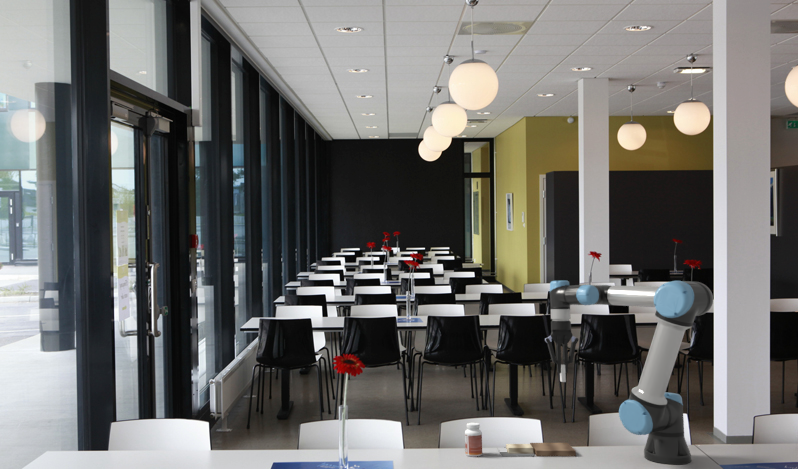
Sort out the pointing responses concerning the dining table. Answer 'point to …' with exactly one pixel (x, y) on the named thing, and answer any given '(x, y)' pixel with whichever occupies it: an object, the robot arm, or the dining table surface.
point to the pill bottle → (473, 440)
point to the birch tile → (519, 448)
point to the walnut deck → (553, 449)
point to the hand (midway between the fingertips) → (562, 381)
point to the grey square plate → (515, 455)
